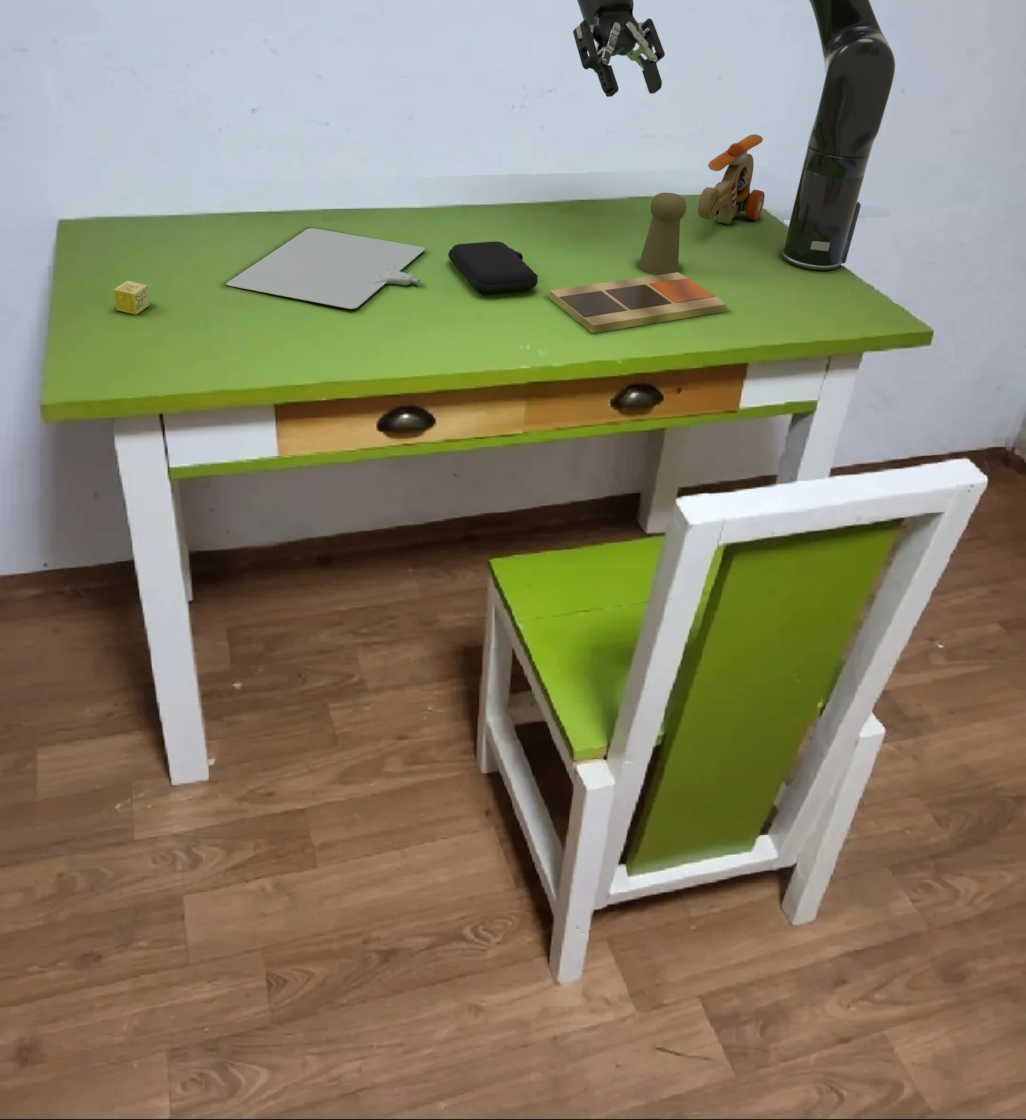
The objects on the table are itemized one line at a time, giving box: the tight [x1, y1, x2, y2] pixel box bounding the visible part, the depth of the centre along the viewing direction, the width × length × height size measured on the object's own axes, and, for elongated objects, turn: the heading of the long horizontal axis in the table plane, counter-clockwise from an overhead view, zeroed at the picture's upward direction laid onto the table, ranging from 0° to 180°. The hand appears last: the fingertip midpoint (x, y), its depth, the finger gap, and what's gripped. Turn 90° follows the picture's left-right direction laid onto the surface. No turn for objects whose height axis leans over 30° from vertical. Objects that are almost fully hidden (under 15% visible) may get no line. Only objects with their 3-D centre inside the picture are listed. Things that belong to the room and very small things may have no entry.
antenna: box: [226, 227, 426, 310], centre depth 152 cm, size 25×24×1 cm
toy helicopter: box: [697, 134, 766, 225], centre depth 175 cm, size 8×21×14 cm, turn 150°
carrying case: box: [447, 240, 539, 297], centre depth 153 cm, size 11×3×15 cm
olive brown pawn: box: [638, 192, 687, 275], centre depth 158 cm, size 6×6×11 cm
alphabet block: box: [113, 280, 150, 316], centre depth 136 cm, size 3×3×3 cm
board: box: [548, 271, 727, 334], centre depth 149 cm, size 22×12×1 cm, turn 117°
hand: (635, 92), depth 155 cm, fingers open, 8 cm apart
